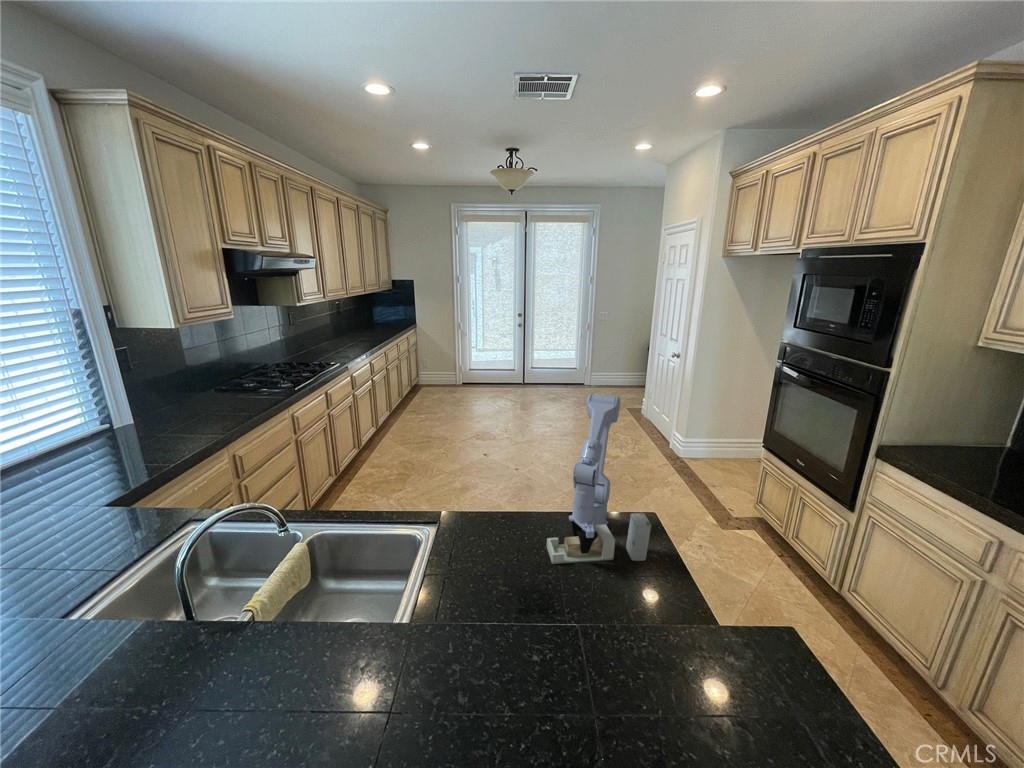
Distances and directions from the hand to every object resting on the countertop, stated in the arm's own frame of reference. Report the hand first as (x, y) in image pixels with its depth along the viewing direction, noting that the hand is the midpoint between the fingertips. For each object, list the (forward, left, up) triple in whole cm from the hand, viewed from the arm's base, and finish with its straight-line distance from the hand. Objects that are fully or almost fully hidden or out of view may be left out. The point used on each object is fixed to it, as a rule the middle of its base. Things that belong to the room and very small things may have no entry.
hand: (580, 544), depth 118 cm
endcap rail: (0, 0, -3) cm, 3 cm away
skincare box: (-10, +13, -3) cm, 17 cm away
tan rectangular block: (-1, +1, -3) cm, 3 cm away
